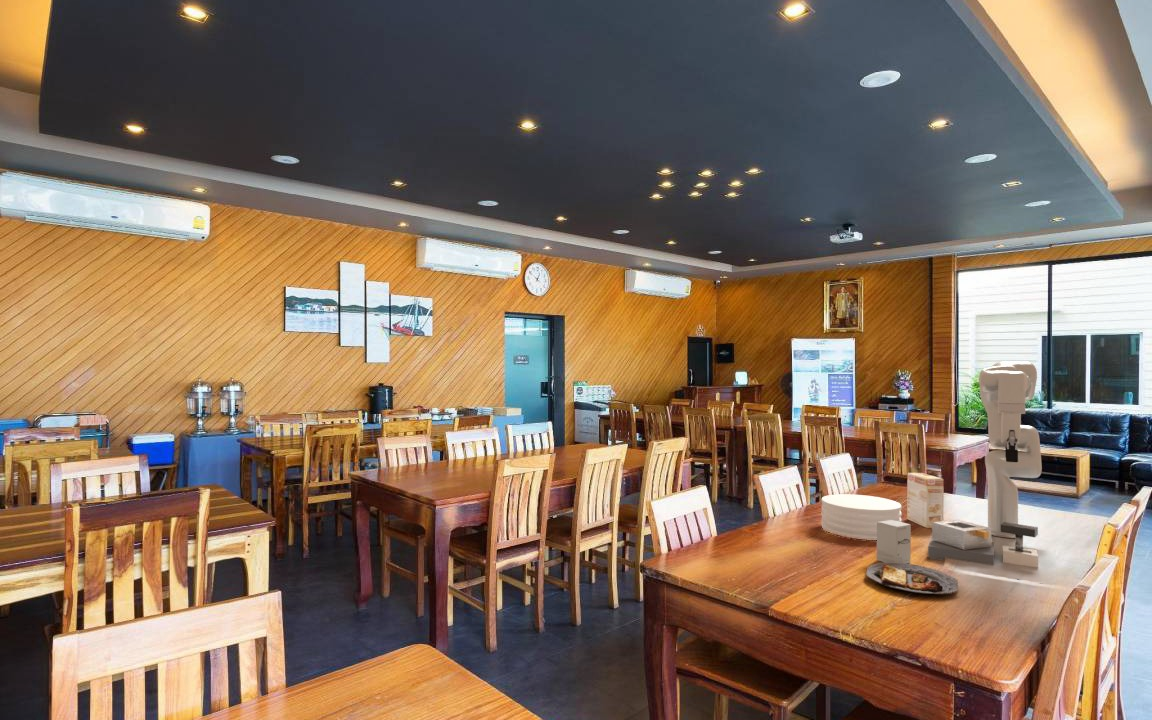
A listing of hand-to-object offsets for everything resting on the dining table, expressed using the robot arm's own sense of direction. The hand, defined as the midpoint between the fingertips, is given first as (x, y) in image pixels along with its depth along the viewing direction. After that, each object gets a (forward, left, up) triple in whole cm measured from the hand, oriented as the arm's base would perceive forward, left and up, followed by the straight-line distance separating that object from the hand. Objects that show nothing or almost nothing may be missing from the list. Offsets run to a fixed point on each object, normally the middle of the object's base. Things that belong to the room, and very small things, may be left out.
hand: (1011, 460), depth 208 cm
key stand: (+8, +2, -32) cm, 33 cm away
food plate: (+48, -25, -33) cm, 63 cm away
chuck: (+9, -13, -28) cm, 32 cm away
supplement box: (+28, -32, -32) cm, 54 cm away
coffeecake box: (-35, -28, -32) cm, 55 cm away
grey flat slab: (+8, -14, -32) cm, 36 cm away
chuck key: (+8, +2, -31) cm, 32 cm away
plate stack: (-8, -48, -33) cm, 58 cm away
